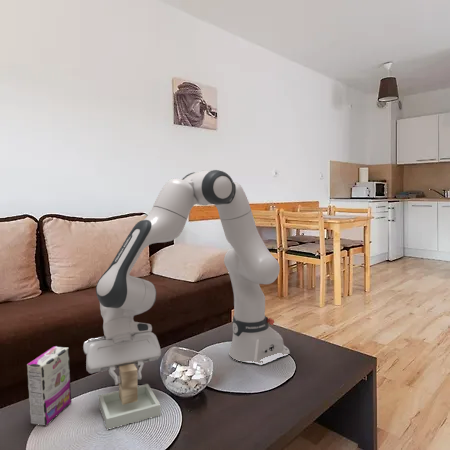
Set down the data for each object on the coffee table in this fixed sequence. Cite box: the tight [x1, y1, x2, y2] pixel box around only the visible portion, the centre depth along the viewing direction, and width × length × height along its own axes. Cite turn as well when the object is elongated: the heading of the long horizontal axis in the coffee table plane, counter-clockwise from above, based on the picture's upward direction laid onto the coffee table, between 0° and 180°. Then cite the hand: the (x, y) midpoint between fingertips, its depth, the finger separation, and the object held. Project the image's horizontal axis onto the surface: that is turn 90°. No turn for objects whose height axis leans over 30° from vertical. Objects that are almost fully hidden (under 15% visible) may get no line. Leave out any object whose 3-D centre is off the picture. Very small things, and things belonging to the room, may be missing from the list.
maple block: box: [118, 363, 138, 405], centre depth 104 cm, size 4×4×9 cm
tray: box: [98, 383, 162, 430], centre depth 104 cm, size 14×12×3 cm
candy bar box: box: [26, 345, 72, 426], centre depth 102 cm, size 11×5×16 cm, turn 168°
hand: (128, 381), depth 103 cm, fingers closed on maple block, 4 cm apart
